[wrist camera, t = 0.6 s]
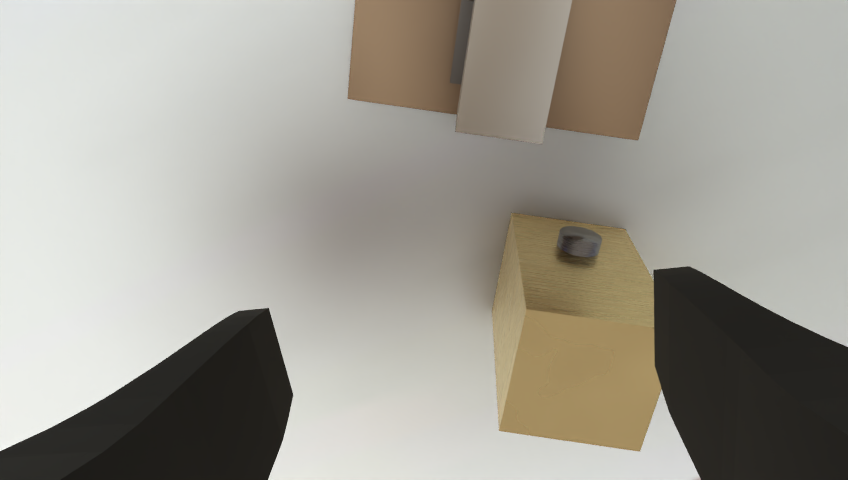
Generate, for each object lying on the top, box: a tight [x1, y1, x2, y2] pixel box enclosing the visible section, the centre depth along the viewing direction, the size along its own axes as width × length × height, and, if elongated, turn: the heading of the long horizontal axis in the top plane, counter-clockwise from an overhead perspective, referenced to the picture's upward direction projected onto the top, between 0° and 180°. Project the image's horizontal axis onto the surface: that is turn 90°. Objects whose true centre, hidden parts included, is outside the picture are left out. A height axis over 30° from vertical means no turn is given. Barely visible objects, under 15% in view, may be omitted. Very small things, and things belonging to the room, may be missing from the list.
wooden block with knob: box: [492, 213, 662, 451], centre depth 18 cm, size 4×4×6 cm
